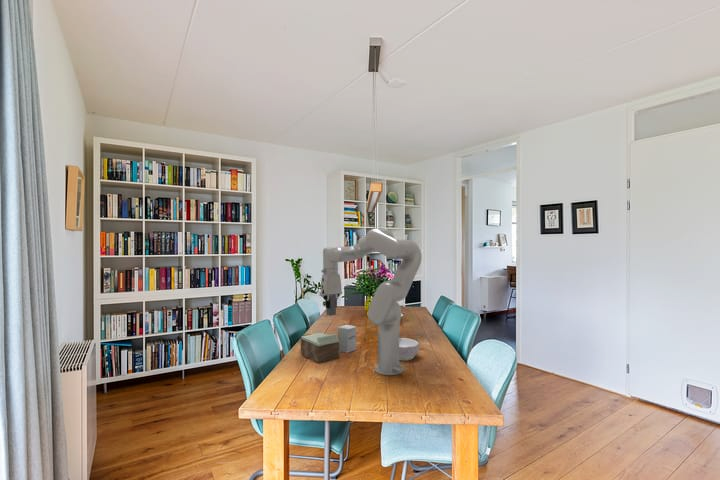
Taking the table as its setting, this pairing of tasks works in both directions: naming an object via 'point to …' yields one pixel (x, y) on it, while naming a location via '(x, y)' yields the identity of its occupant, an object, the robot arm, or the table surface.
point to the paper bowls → (407, 349)
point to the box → (319, 351)
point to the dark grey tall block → (332, 305)
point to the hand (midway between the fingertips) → (331, 307)
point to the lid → (321, 339)
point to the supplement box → (347, 338)
